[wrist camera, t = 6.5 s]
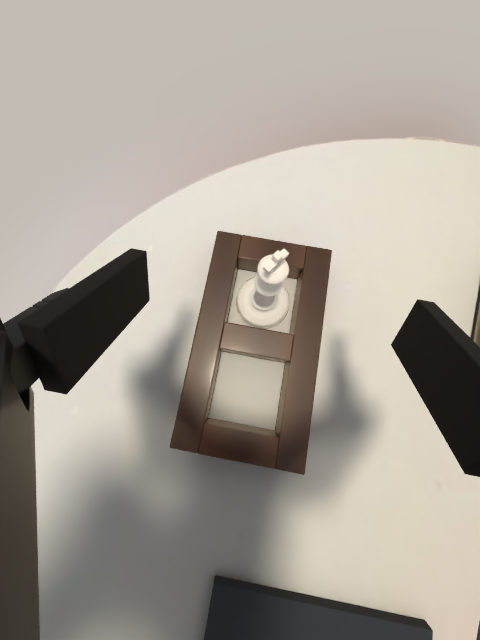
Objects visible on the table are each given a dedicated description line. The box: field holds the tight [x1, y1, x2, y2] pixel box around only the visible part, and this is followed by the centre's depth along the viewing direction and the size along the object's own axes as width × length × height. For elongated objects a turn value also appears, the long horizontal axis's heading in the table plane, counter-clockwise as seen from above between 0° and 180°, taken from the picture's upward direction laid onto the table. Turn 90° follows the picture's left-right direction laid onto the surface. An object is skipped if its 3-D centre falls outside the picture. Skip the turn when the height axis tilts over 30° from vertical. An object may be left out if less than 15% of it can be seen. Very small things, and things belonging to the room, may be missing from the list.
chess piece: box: [236, 249, 289, 329], centre depth 20 cm, size 5×5×10 cm
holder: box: [170, 231, 332, 475], centre depth 22 cm, size 10×18×2 cm, turn 169°
